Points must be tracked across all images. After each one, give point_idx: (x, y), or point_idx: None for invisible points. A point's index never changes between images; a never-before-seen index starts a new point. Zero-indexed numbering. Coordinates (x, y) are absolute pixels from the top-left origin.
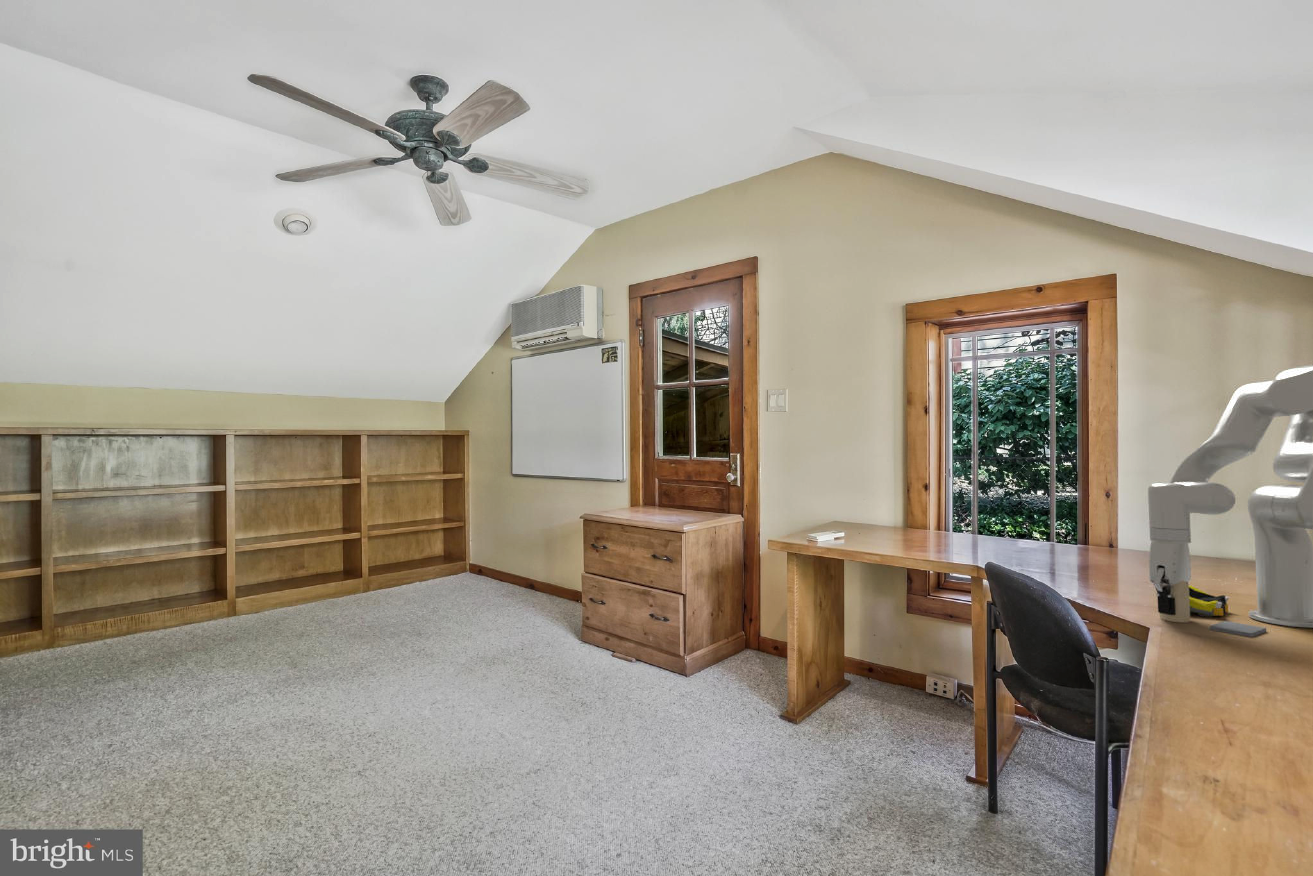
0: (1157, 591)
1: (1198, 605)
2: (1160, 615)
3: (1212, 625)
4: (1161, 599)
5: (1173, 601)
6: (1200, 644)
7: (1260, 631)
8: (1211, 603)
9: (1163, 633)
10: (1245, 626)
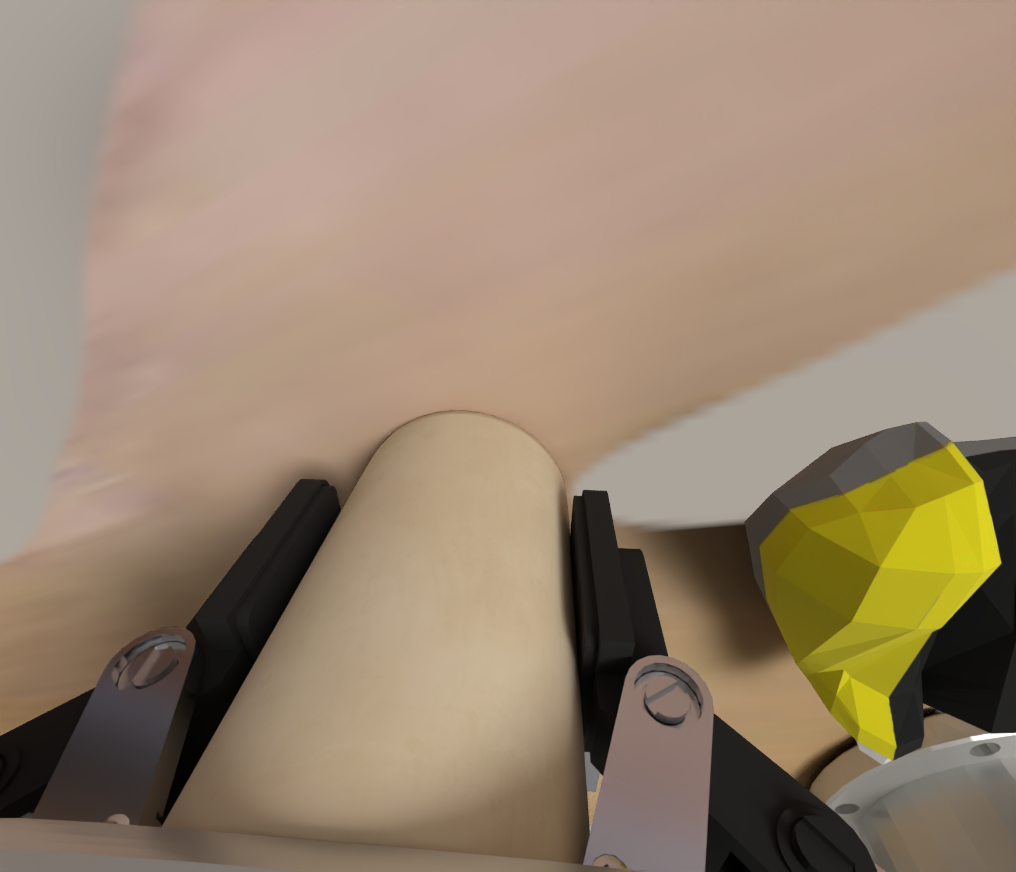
0: (22, 730)
1: (787, 634)
2: (384, 445)
3: None
4: (199, 626)
5: None
6: (54, 693)
7: None
8: (843, 712)
9: (25, 569)
10: None
